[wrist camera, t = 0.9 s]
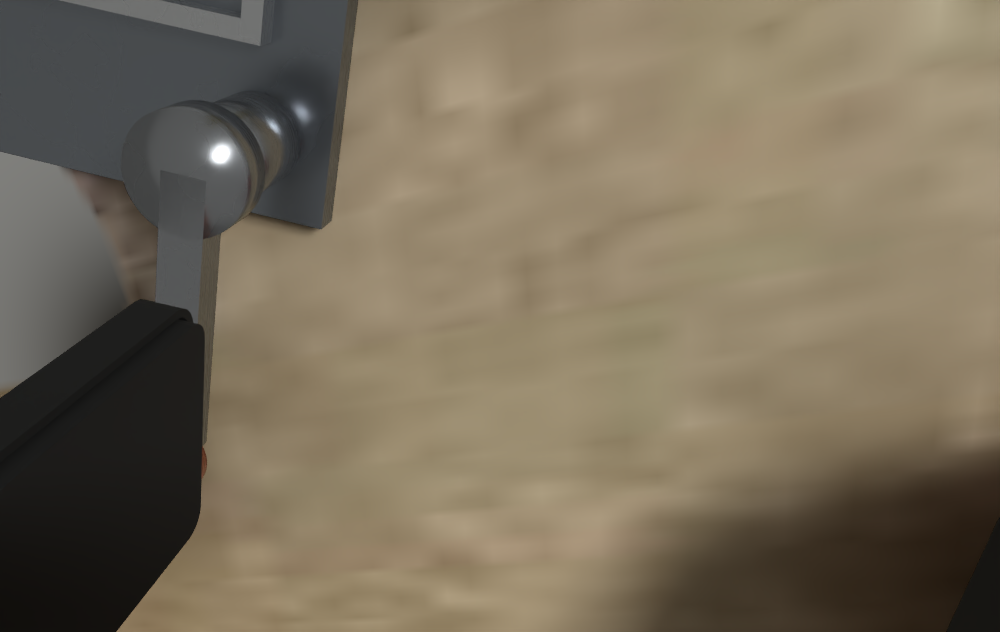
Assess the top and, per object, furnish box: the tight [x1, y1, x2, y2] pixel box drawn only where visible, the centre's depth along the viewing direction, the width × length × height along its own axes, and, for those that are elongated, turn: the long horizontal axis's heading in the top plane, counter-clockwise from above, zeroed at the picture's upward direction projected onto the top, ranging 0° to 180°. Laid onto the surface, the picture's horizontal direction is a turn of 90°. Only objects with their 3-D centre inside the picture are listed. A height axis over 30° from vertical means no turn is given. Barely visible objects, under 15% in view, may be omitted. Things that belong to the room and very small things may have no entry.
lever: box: [121, 100, 265, 479], centre depth 31 cm, size 15×4×6 cm, turn 169°
